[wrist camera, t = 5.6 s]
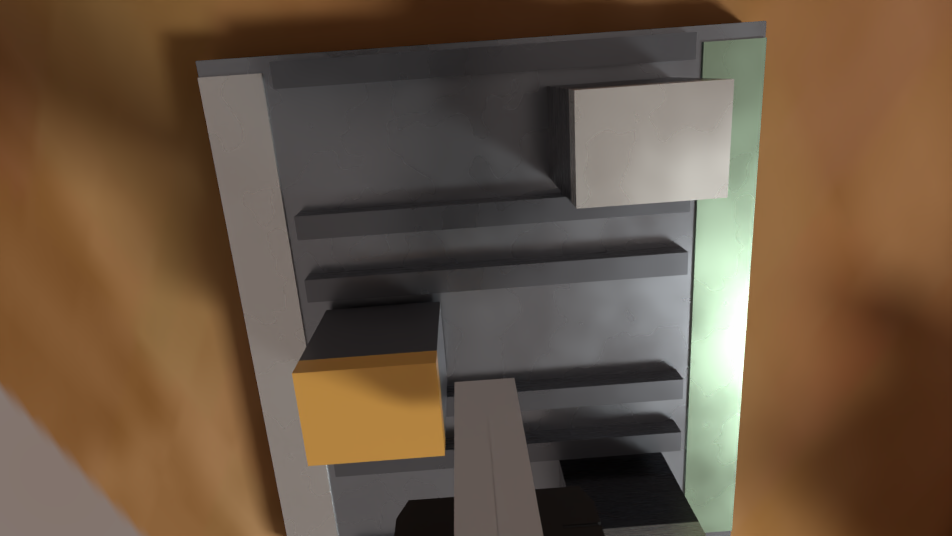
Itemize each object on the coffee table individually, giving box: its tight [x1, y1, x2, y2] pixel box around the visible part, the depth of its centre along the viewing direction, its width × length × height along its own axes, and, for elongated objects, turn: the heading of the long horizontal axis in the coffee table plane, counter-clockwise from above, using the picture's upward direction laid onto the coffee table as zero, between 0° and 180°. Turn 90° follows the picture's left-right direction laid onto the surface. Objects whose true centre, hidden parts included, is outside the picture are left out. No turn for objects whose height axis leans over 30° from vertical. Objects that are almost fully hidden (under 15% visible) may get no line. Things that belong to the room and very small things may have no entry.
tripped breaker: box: [292, 302, 447, 466], centre depth 20 cm, size 3×4×5 cm
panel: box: [196, 21, 767, 536], centre depth 21 cm, size 20×18×6 cm
